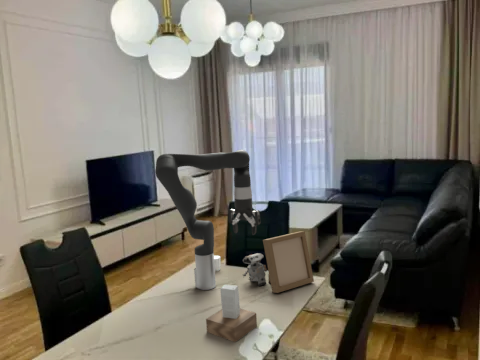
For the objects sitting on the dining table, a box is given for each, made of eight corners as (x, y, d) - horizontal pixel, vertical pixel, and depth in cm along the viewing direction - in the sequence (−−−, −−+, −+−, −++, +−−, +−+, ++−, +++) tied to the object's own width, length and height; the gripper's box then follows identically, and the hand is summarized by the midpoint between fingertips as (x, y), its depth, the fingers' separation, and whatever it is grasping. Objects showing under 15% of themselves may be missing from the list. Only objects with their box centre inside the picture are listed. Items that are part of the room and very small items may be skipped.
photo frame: (314, 283, 213) (312, 233, 209) (277, 295, 202) (274, 242, 198) (295, 274, 225) (293, 227, 222) (259, 285, 214) (256, 235, 211)
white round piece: (208, 267, 242) (207, 255, 241) (221, 266, 243) (220, 254, 241) (208, 272, 235) (208, 259, 234) (221, 271, 236) (220, 258, 235)
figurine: (239, 283, 217) (238, 254, 215) (259, 278, 223) (258, 250, 220) (249, 289, 209) (247, 259, 207) (269, 284, 215) (268, 254, 213)
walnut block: (207, 333, 171) (206, 318, 170) (229, 318, 182) (228, 305, 181) (235, 343, 163) (234, 327, 162) (256, 327, 174) (256, 313, 173)
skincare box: (240, 314, 172) (238, 285, 170) (236, 319, 168) (234, 289, 167) (226, 312, 175) (224, 284, 173) (222, 317, 171) (219, 288, 169)
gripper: (224, 197, 187) (226, 234, 189) (254, 199, 180) (256, 237, 183) (232, 194, 193) (234, 230, 196) (261, 195, 187) (263, 232, 189)
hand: (244, 233), depth 189 cm, fingers open, 8 cm apart
